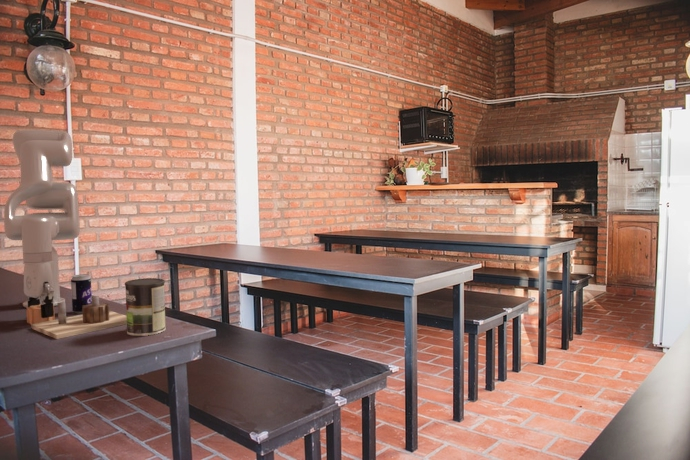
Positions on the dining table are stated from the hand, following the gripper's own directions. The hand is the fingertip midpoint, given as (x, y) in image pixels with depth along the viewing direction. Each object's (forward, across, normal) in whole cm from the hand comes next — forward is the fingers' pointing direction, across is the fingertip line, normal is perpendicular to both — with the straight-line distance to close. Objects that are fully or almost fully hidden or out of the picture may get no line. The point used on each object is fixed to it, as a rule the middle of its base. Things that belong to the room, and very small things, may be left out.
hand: (40, 314), depth 153 cm
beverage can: (+2, -2, +13) cm, 14 cm away
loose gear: (+2, 0, 0) cm, 2 cm away
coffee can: (+3, +35, +14) cm, 38 cm away
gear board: (+2, +15, +6) cm, 16 cm away
